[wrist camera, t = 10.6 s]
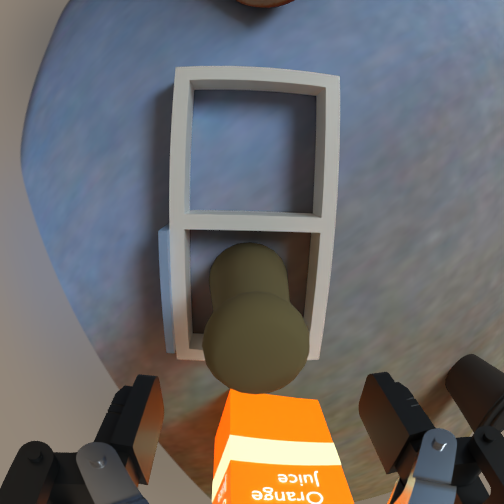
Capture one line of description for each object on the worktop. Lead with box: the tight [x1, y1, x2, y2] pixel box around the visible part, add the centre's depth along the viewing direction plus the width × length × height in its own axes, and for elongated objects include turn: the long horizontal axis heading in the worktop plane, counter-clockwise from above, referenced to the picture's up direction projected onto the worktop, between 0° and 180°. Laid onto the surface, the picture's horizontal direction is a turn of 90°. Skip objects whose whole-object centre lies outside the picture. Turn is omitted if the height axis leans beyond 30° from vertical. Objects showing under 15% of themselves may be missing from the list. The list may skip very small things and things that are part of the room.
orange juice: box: [212, 389, 354, 504], centre depth 17 cm, size 8×9×20 cm
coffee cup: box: [445, 354, 504, 433], centre depth 23 cm, size 8×8×10 cm
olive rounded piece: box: [202, 242, 310, 395], centre depth 18 cm, size 6×6×11 cm
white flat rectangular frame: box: [158, 66, 340, 361], centre depth 21 cm, size 21×12×3 cm, turn 178°
